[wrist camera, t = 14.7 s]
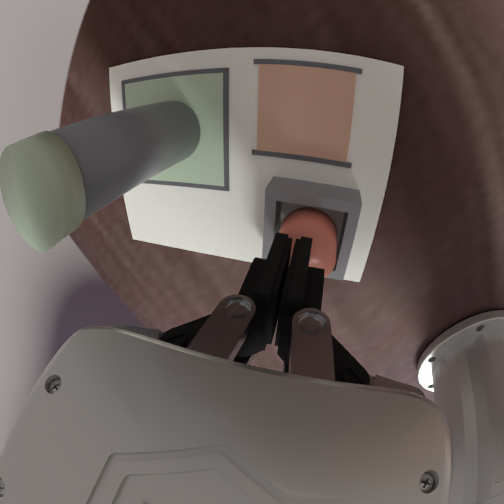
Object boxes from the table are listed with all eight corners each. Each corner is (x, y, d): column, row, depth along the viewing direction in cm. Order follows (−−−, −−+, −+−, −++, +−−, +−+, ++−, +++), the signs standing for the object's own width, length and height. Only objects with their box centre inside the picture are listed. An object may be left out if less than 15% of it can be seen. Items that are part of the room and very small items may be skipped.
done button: (341, 212, 14) (341, 235, 12) (331, 261, 16) (329, 287, 14) (283, 202, 15) (273, 224, 13) (278, 251, 17) (269, 276, 15)
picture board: (401, 66, 10) (413, 63, 8) (359, 277, 18) (359, 302, 17) (113, 67, 14) (88, 70, 12) (136, 235, 22) (119, 252, 20)
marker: (199, 95, 14) (33, 136, 5) (204, 163, 16) (68, 260, 8) (142, 103, 15) (-9, 153, 6) (149, 163, 17) (19, 244, 9)
